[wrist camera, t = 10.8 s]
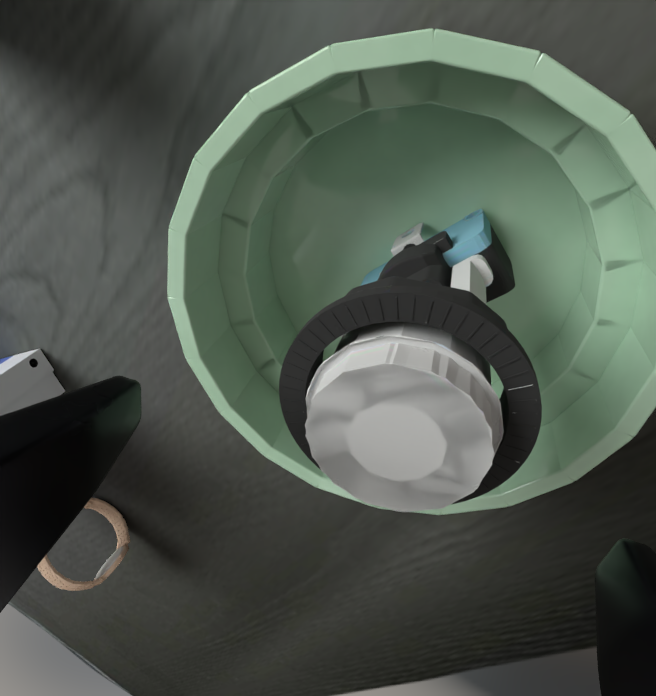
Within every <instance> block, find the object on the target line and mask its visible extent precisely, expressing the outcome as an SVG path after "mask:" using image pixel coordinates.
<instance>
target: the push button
mask: <svg viewBox="0 0 656 696" xmlns="http://www.w3.org/2000/svg"><path fill="white" fill-rule="evenodd" d="M423 226H424V223H423V222H422V223H419V224H417V225H416V226H414V227H412V228H411V229H409V230H407V231H405V232H404V233H402V234H400V235H399V236H398V237H397V238H396V239H395V241H394V243H393V246H392V249H391V252H392V254H393V256H394V257H393V258H391V259H390V260H389V261H388V262H386V263H384V264H383V265H381V266H379V267H377V268H375V269H374V270H372V271H371V272H369V273H368V274H367V275H366V276H365V277H364V279H363V281H362V283H361V285H360V286H358V287H355V288H353V289H351V290H350V291H349V292H348V293H347V294H346V296H345V297H342V298H340V299H338V300H336V301H334V302H333V303H331V304H329V305H327V306H326V307H324V308H323V309H322V310H320V311H319V312H318V313H316V314H315V315H314V316H313V317H312V318H311V319H310V320H309V321H308V322H307V323H306V324H305V326H304V327H303V328H302V329H301V331H300V332H299V333H298V335H297V336H296V338H295V340H294V341H293V343H292V344H291V346H290V348H289V349H288V352H287V354H286V356H285V358H284V361H283V365H282V368H281V373H280V379H279V397H280V404H281V409H282V413H283V416H284V419H285V422H286V425H287V427H288V429H289V431H290V433H291V435H292V437H293V438H294V440H295V442H296V443H297V444H298V446H299V447H300V449H301V450H302V451H303V452H304V454H305V455H306V456H307V457H308V458H309V459H310V460H311V461H312V462H313V463H314V464H315V465H316V466H317V467H318V468H319V469H320V470H321V471H322V472H323V473H325V474H326V475H327V476H328V477H329V478H330V480H331V481H332V482H333V483H334V484H335V485H337V486H338V487H340V488H342V489H343V490H345V491H347V492H348V493H349V494H350V495H352V496H353V497H354V498H357V499H360V500H362V501H363V502H365V503H367V504H371V505H376V506H380V507H384V508H388V509H391V510H394V511H401V512H411V511H422V510H433V509H442V508H444V507H446V506H448V505H450V504H456V503H460V502H464V501H468V500H470V499H473V498H476V497H479V496H481V495H483V494H485V493H488V492H490V491H491V490H493V489H495V488H496V487H498V486H500V485H501V484H502V483H504V482H505V481H507V480H508V479H509V478H510V477H511V476H512V475H513V474H515V473H516V472H517V471H518V470H519V468H520V467H521V466H522V465H523V464H524V462H525V461H526V459H527V458H528V456H529V455H530V453H531V452H532V449H533V447H534V445H535V443H536V441H537V437H538V434H539V431H540V426H541V419H542V404H541V395H540V390H539V385H538V381H537V377H536V373H535V370H534V368H533V365H532V363H531V361H530V359H529V357H528V355H527V353H526V352H525V350H524V348H523V347H522V345H521V344H520V343H519V341H518V340H517V339H516V337H515V336H514V335H513V334H512V333H511V332H510V331H509V330H508V328H507V325H506V323H505V321H504V320H503V319H502V318H501V317H500V316H499V315H498V314H497V313H495V312H494V311H493V310H492V309H491V308H490V307H488V306H487V302H490V301H492V300H494V299H496V298H498V297H500V296H502V295H504V294H506V293H508V292H510V291H511V290H512V289H513V288H514V287H515V280H514V274H513V269H512V263H511V260H510V258H509V257H508V255H507V253H506V251H505V249H504V248H503V246H502V244H501V242H500V240H499V238H498V237H497V235H496V233H495V231H494V229H493V228H492V226H491V224H490V222H489V220H488V219H487V217H486V215H485V213H484V211H483V209H479V210H476V211H474V212H472V213H470V214H469V215H467V216H465V217H464V219H462V220H460V221H458V222H457V223H455V224H453V225H451V226H450V227H448V228H446V229H444V230H442V231H441V232H439V233H437V234H435V235H434V236H432V237H430V238H428V239H427V240H425V241H424V239H423V238H422V236H421V234H420V233H422V230H423ZM411 232H412V233H411ZM409 233H411V234H409ZM408 234H409V235H408ZM407 235H408V236H407ZM405 236H406V237H405ZM339 337H342V338H341V340H340V342H339V344H338V346H337V348H336V350H335V353H334V354H333V355H332V356H331V357H329V358H328V359H326V360H325V361H324V362H323V352H324V349H325V348H326V347H327V346H328V345H329V344H330V343H331V342H333V341H334V340H336V339H337V338H339ZM490 365H491V366H492V367H493V368H494V370H495V371H496V373H497V375H498V376H499V378H500V380H501V382H502V384H503V386H504V388H503V391H502V394H501V397H500V399H499V398H498V395H497V394H496V393H495V391H494V390H493V388H492V387H491V366H490Z"/></svg>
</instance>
